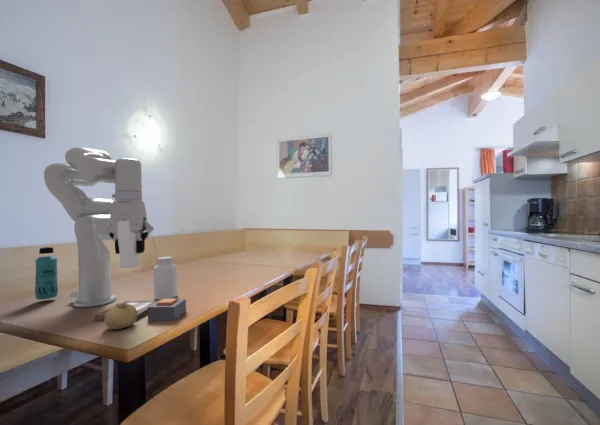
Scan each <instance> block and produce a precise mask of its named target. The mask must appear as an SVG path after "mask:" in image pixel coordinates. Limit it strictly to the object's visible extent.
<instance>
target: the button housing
mask: <svg viewBox="0 0 600 425" xmlns="http://www.w3.org/2000/svg"><path fill="white" fill-rule="evenodd" d="M161 300H162V299H161ZM161 300H159V301H161ZM159 301H158V302H159ZM186 306H187V302H186V299H184V298H180V299H179V298H177V302H176V303H175V304H173V305H164V306H157V302H156V303H154V304H152V305H151V306H149V307H148V314H147V321H148V322H149V321H153V322H154V321H155V322H156V321H158V322H159V321H161V322H162V321H166V322H167V321H168V322H169V321H171V322H172V321H176V320H177V319H178V318H180V317H181V316H183V314H185V313H186V312H187V307H186Z"/></svg>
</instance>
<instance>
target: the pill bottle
mask: <svg viewBox="0 0 600 425" xmlns="http://www.w3.org/2000/svg"><path fill="white" fill-rule="evenodd" d="M156 259H157V260H156V264H157V265H155V266H154V267H153V296H154V300H161V299H172V298H176V297H177V296H178V285H177V284H178V278H177V277H178V275H177V274H178V272H177V266H176V265H175V264H174V263H173V261H174V259H173V257H172V256H164V257H157V258H156Z"/></svg>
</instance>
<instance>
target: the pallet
mask: <svg viewBox="0 0 600 425" xmlns="http://www.w3.org/2000/svg"><path fill="white" fill-rule="evenodd" d="M158 301H159V300H158V299H156V300H124V301H123V302H120V303H119V304H122V303H127V304H130V305H132V306H134V307H135V308H136V310H137V318H136V321H139V320H140V319H141V318H143V317H144V316H146V315H147V316H148V307H149V306H151V305H152V304H154V303H156V302H158ZM112 307H113V306H112ZM112 307H110V308H107V309H105V310H103V311H101V312H99V313H97V314H95V315H94V320H95V321H105V315H106V313H107V312H108V310H109V309H111V308H112Z"/></svg>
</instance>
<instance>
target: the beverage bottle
mask: <svg viewBox="0 0 600 425" xmlns="http://www.w3.org/2000/svg"><path fill="white" fill-rule="evenodd" d="M53 253H54V247H51V246H50V247H49V246H46V247H45V246H44V247H40V248H39V255H43V256H40V257H39V256H38V258H36V259H35V260H34V261H35V283H34V285H35V286H34V289H35V290H34V294H35V295H34V296H35V299H36V300H49V299H53V298H56V297H58V294H59V292H58V291H59V289H58V279H59V278H58V258H57V257H56V256H55V255H47V256H44V255H45V254H53Z"/></svg>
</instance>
